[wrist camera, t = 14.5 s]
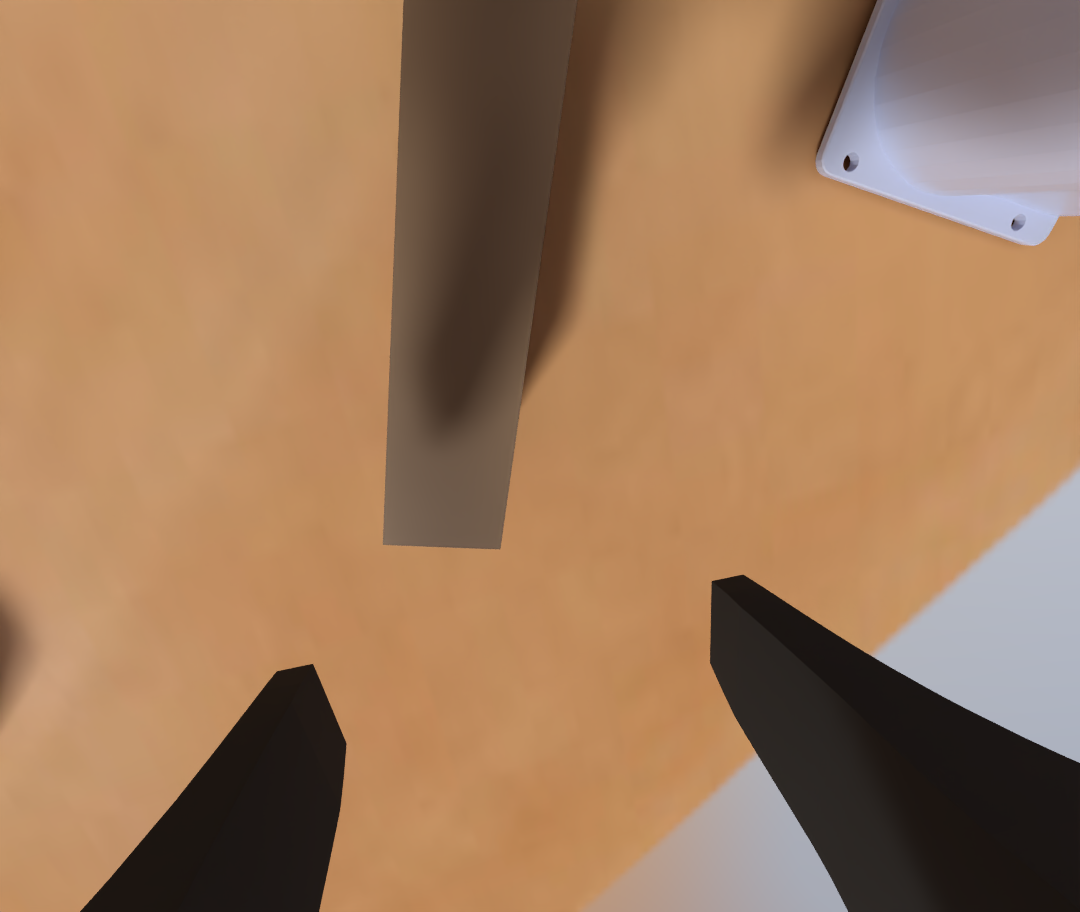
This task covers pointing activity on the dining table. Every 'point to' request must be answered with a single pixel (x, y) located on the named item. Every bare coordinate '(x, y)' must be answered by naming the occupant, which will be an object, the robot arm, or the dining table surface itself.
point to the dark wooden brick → (467, 256)
